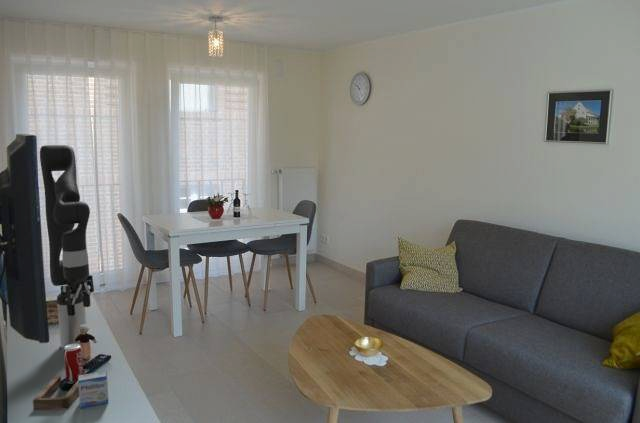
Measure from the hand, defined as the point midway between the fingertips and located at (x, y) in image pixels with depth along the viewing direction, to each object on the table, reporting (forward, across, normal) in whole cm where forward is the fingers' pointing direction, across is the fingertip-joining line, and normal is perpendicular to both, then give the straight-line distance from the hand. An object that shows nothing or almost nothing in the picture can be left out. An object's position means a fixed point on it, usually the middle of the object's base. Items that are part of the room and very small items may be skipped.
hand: (79, 311), depth 169 cm
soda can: (+22, +5, 0) cm, 23 cm away
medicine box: (+22, +17, +14) cm, 31 cm away
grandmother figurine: (+22, -11, -6) cm, 25 cm away
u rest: (+22, +15, +2) cm, 27 cm away
